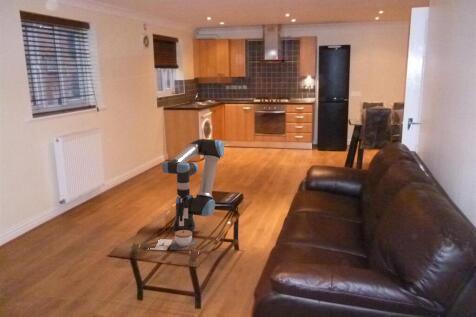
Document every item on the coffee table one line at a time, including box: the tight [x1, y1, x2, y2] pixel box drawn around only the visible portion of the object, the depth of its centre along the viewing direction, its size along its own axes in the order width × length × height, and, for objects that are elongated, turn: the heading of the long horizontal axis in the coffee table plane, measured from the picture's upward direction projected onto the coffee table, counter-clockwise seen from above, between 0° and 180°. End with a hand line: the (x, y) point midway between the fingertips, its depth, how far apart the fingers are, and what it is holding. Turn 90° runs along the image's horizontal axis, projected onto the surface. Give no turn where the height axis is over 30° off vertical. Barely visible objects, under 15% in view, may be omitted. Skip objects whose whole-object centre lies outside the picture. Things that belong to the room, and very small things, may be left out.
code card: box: [147, 238, 173, 251], centre depth 256 cm, size 17×14×1 cm
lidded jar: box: [174, 230, 193, 247], centre depth 255 cm, size 11×11×9 cm
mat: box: [169, 239, 197, 251], centre depth 255 cm, size 14×14×1 cm
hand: (183, 221), depth 253 cm, fingers open, 13 cm apart
